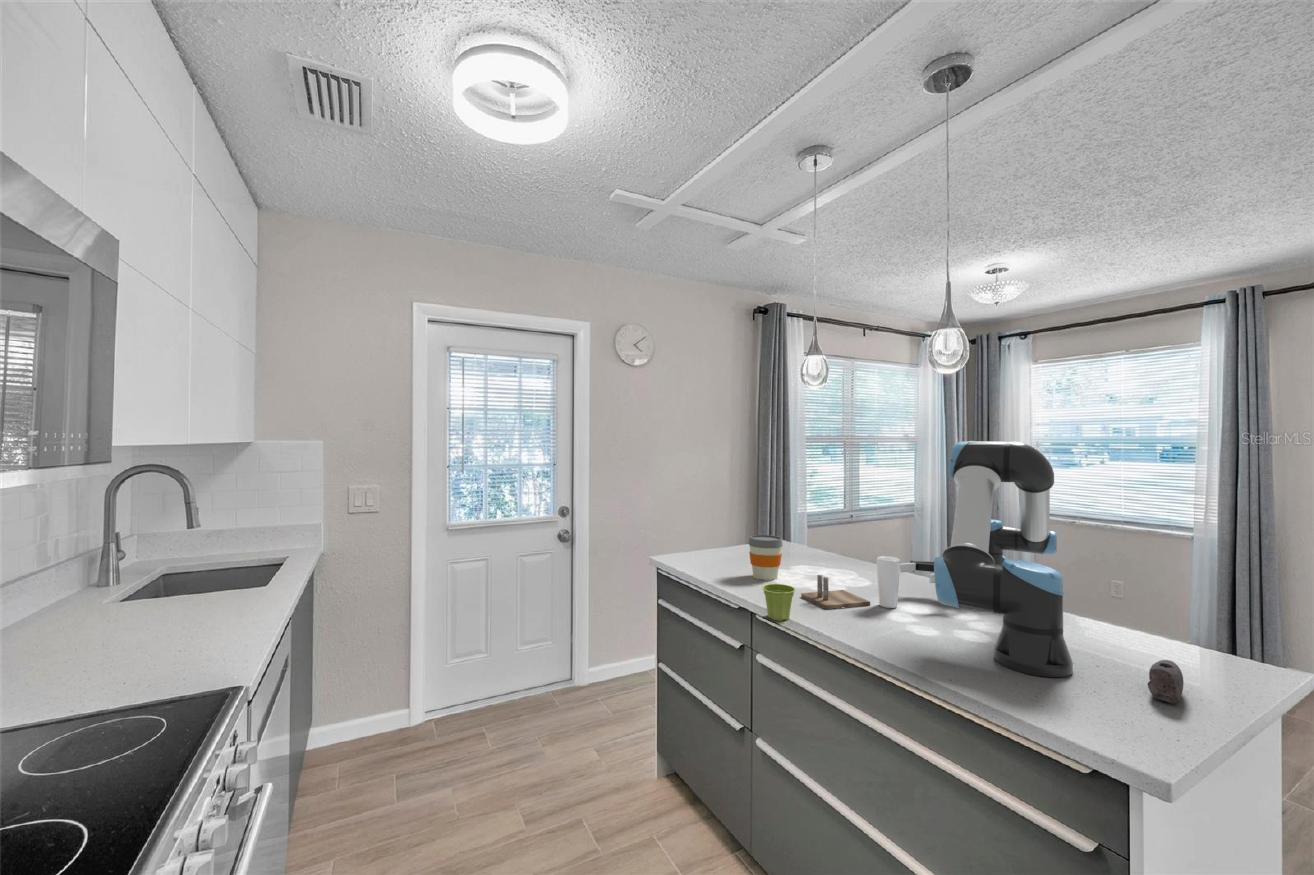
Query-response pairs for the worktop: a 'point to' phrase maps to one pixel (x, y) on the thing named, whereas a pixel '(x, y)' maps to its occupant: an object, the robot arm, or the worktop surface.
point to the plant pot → (778, 600)
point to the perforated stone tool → (1166, 681)
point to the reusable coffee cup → (765, 556)
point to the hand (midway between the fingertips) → (913, 573)
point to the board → (833, 596)
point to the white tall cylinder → (888, 580)
